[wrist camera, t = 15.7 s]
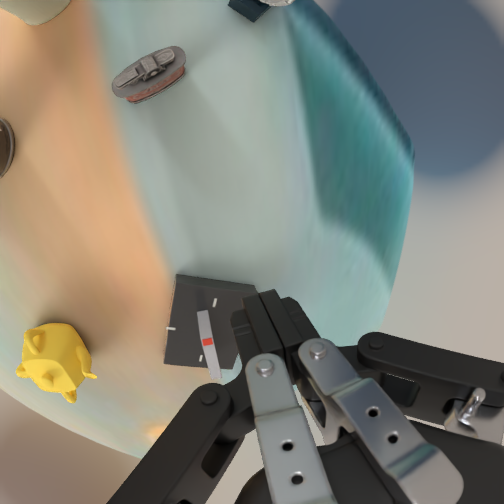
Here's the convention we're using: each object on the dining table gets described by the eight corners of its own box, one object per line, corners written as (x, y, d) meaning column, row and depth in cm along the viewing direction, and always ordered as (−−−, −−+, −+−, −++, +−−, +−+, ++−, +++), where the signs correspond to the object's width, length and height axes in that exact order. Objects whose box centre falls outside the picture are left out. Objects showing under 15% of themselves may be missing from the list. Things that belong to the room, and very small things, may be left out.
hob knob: (216, 350, 45) (222, 378, 39) (206, 352, 45) (211, 380, 39) (207, 309, 41) (212, 337, 36) (196, 311, 41) (200, 339, 35)
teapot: (42, 295, 36) (18, 335, 27) (107, 334, 42) (96, 380, 33) (26, 343, 39) (8, 382, 30) (82, 376, 44) (73, 417, 35)
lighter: (178, 56, 29) (177, 31, 20) (189, 77, 30) (192, 59, 21) (121, 88, 29) (99, 75, 20) (132, 109, 30) (114, 102, 21)
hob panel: (231, 359, 50) (234, 370, 48) (161, 353, 46) (161, 364, 44) (256, 285, 44) (260, 294, 42) (173, 273, 40) (173, 282, 38)
